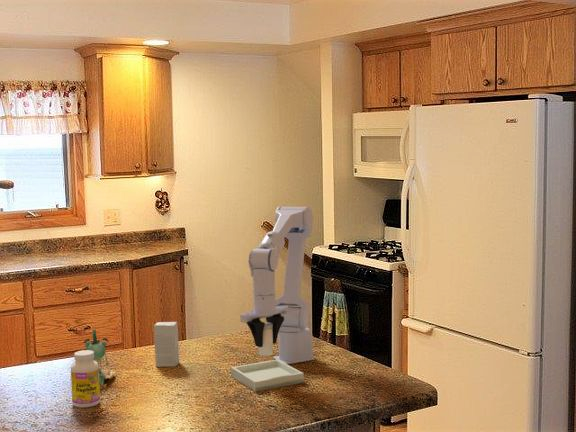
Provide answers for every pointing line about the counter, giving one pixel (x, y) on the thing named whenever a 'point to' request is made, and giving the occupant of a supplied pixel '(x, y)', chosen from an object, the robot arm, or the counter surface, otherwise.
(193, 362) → the counter surface
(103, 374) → the frog figurine
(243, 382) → the tray
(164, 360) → the skincare box
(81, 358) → the supplement bottle
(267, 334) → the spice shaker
